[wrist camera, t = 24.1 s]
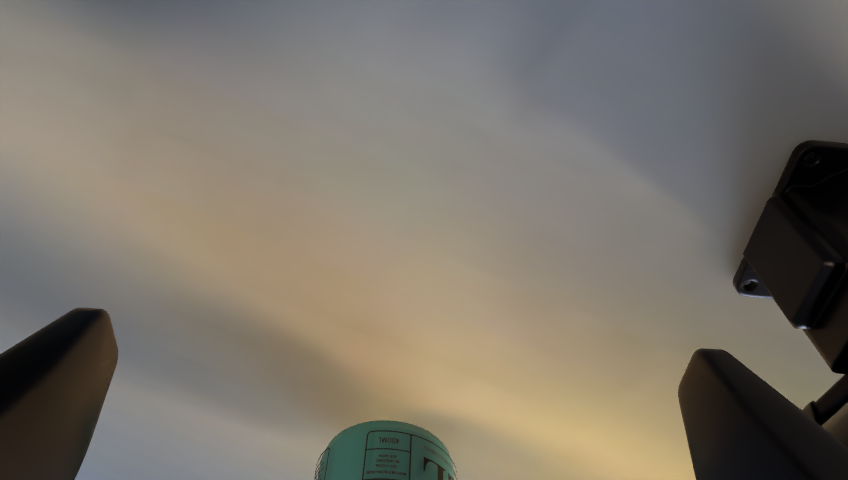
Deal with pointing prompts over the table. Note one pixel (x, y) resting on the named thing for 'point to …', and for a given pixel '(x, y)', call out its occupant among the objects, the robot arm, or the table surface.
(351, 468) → the beverage bottle
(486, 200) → the table surface
